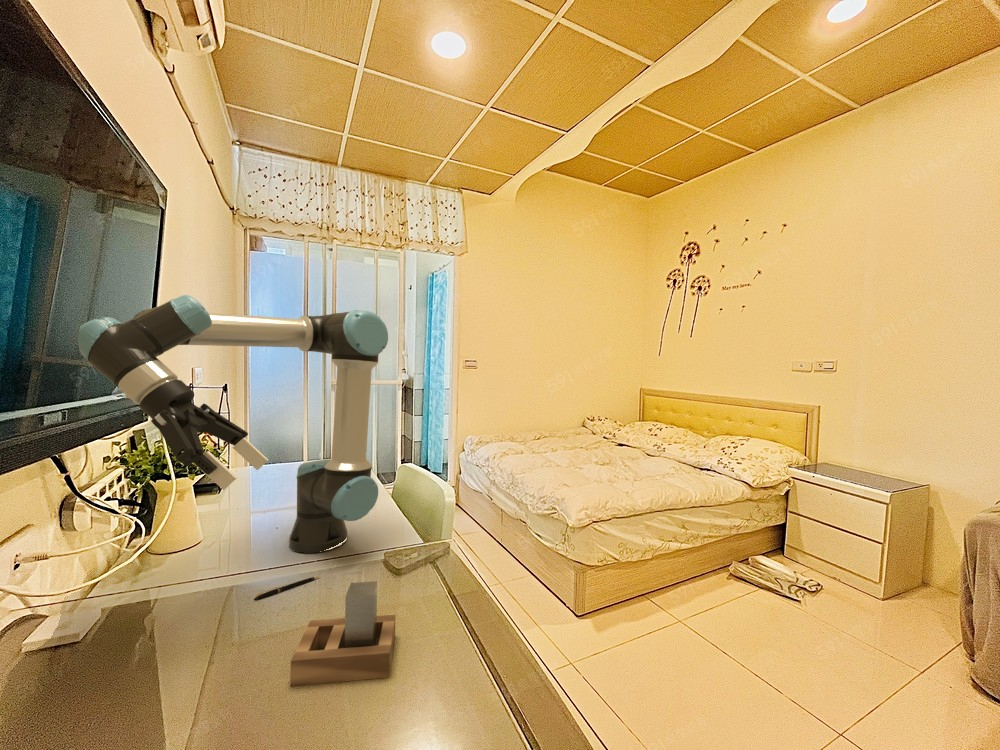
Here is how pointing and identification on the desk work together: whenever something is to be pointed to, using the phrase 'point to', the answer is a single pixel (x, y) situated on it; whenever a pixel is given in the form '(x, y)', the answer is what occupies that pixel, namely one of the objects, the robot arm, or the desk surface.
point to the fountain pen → (282, 588)
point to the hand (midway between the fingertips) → (248, 473)
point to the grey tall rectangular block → (361, 615)
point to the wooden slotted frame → (341, 653)
